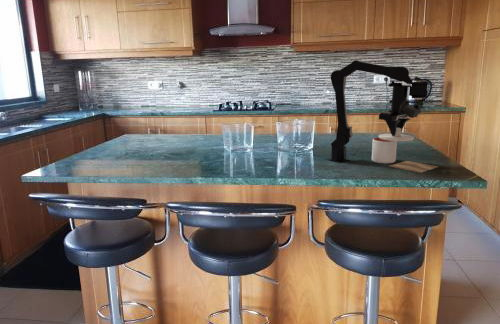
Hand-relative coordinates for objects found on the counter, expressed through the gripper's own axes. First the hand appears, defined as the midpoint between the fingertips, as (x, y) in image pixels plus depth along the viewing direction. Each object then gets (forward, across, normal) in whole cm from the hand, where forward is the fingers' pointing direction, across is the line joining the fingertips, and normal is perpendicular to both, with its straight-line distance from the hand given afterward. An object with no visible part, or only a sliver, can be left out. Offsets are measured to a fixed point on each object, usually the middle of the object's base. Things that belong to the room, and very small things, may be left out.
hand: (396, 135), depth 164 cm
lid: (+1, 0, 0) cm, 1 cm away
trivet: (+12, 0, -9) cm, 15 cm away
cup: (+13, 0, +5) cm, 14 cm away
